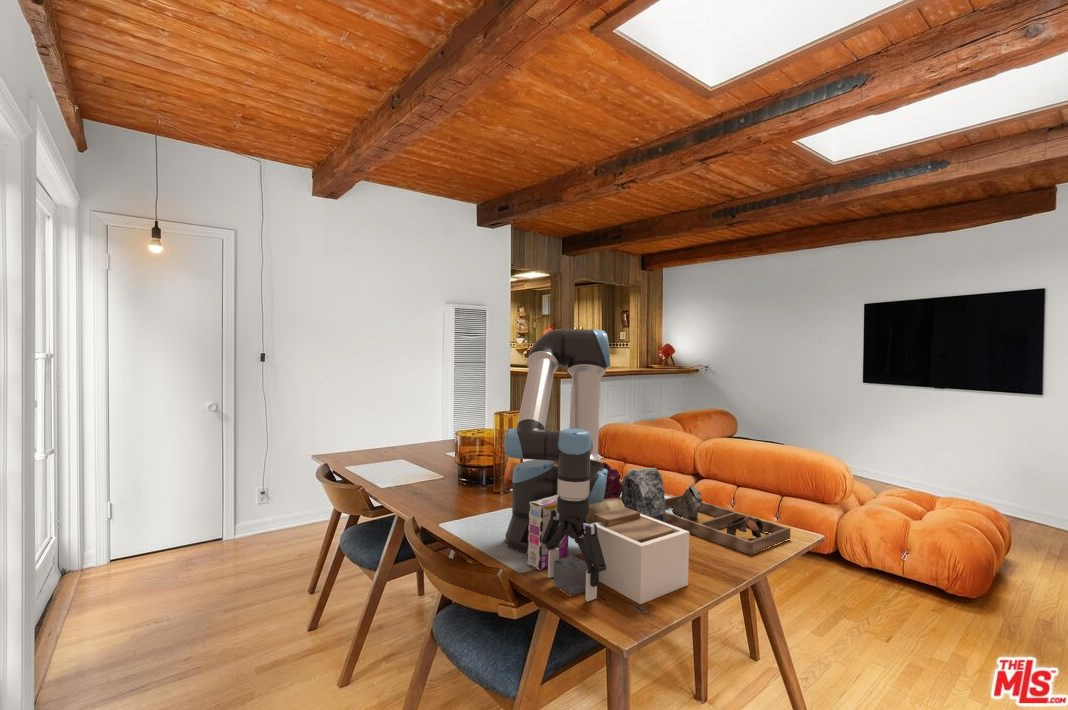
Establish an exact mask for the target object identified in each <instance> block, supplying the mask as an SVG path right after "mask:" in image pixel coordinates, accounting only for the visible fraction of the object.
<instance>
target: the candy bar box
mask: <svg viewBox="0 0 1068 710" xmlns="http://www.w3.org/2000/svg"><path fill="white" fill-rule="evenodd" d="M558 496H559V495H554V496H551V497H547V498H543V499H540V500H536V501H532V502H529V528H528V553H527V554H526V555H527V559H526V560H527V561H526V565H527V564H528V565H530V566H532V567H531V568H533V567H534V568H533V569H535V568H536V569H535V570H537V569H538V571H540V572H541V571H542V570H544V569H548V559H547V558H548V549H547V547H546V544H543V543H542V539H543V536H544V533H545V531H546V528H547V526H548V523H549V520H550V515H551V511H552V510H557V497H558ZM559 525H560V523H559ZM558 527H559V526H558ZM548 538H549V537H548ZM569 538H570V536H566V535H565V536H564V538H563V539H562V540H561V542H560V543H559V544H558V545H557V546H558V547H555V548H559V559H562V558H566V557H569ZM528 565H527V566H528ZM530 566H529V567H530Z"/></svg>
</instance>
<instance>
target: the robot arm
mask: <svg viewBox="0 0 1068 710" xmlns="http://www.w3.org/2000/svg"><path fill="white" fill-rule="evenodd" d="M608 336H609V335H608V334H607V332H606V331H605V330H602V329H593V328H591V329H573V328H571V329H568V328H567V329H563V328H558V329H557V328H556V329H553V330H551V331H548V332H546V333H545V334H543V335H542V336H541V337H539V338H538V339H537V340H536V341H535V342H534V344H533V345H532V346H531V348H530V350H529V352H528V356H527V359H526V366H527V368H528V371H527V376H526V381H525V385H524V389H523V395H522V400H521V404H520V409H519V413H518V418H517V424H516V427H515V428H514V427H513V428H508V429H507V430H506V432H505V436H504V453H505V455H506V457H508V458H512V459H518V460H523V461H522V462H520V463H518V464H516V465H515V467H514V469H513V474H512V481H511V482H512V504H511V505H512V506H511V507H512V510H511V511H512V512H511V514H512V515H511V517H510V520H509V524H508V528H507V531H506V533H505V545H506V544H507V545H508V546H509V547H510V549H511V548H512V550H513V549H514V551H516V550H517V552H520V551H521V553H527V554H528V528H529V502H532V501H536V500H540V499H543V498H547V497H551V496H554V495H559V496H558V497H557V510H552V511H551V515H550V520H549V523H548V526H547V528H546V531H545V533H544V536H543V539H542V543H543V544H546V547H547V549H548V558H547V559H548V567H547V578H549V579H551V578H553V575H554V561H556V560H559V548H555V547H558V546H557V545H558V544H559V543H560V542H561V540H562V539H563V538H564V536H565V535H566V536H569V538H571V539H572V540H574V542H575V544H577V546H578V548H579V550H580V553H581V554H582V557H583V559H584V560H583V561H585V562H586V564H587V567H588V569H589V570H587V571H586V591H585V601H586V602H591V601H593V600H595V599H597V598H598V597H597V596H598V586H599V583H600V582H599V572H601V571H604V570H606V564H605V561H604V557H603V553H602V550H601V546H600V543H599V539H598V536H597V526H596V524H591V525H590V524H587V521H586V517H587V515H588V514H589V505H590V504H595V503H599V502H603V500H604V494H605V488H606V481H607V474H608V470H607V469H605V468H604V469H603V460H601V459H600V458H599V429H600V427H599V426H600V395H601V394H600V393H601V378H602V377H603V376H604V375H605V374H606V372H607V371H606V370H607V369H609V368H610V367H611V356H610V355H611V354H610V345H609V337H608ZM559 367H567V373H568V374H569V375H570V376H571V386H570V387H571V390H570V391H571V392H570V409H569V410H570V411H569V424H568V425H569V428H565V429H561V430H548V429H547V430H546V427H547V419H548V412H549V405H550V401H551V400H550V399H551V393H552V386H553V380H554V373H555V372H556V371H557V370H558V368H559ZM524 460H526V461H524ZM557 461H558V466H557V465H555V462H557ZM554 465H555V466H554ZM559 523H560V525H559ZM558 526H559V527H558ZM548 537H549V538H548ZM507 545H506V546H507ZM508 546H507V547H508ZM509 547H508V548H509ZM592 564H593V566H592Z"/></svg>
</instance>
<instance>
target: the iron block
mask: <svg viewBox="0 0 1068 710" xmlns="http://www.w3.org/2000/svg"><path fill="white" fill-rule="evenodd" d="M587 570H589V569H588V567H587V564H586V562H585V560H583V559H581V558H579V557H577V556H576V555H570V556H569V555H568V557H566V558H562V559H559V560H556V561H554V575H553V577H552V578H553V581H552V582H553V583H552V586H553V585H554V586H556V587H557V588H559V589H561V590H562V591H564V592H565V593H566V594H568V595H573V596H575V595H574V594H576V595H578V593H579V594H581V593H584V592H586V571H587ZM554 586H553V587H554ZM557 588H556V589H557ZM559 589H558V590H559ZM562 591H561V592H562ZM565 593H564V594H565ZM566 594H565V595H566ZM568 595H567V596H568Z"/></svg>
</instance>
